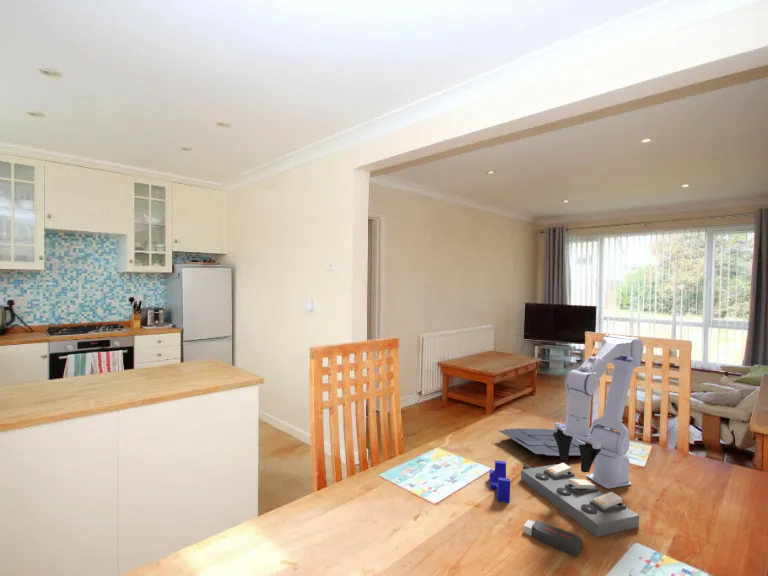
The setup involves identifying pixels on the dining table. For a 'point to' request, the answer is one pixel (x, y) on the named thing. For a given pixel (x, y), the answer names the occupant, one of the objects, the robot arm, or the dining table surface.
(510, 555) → the dining table surface
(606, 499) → the rocker
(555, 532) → the usb drive
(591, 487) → the rocker middle
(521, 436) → the grey ridged plate
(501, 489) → the blue pipe cradle
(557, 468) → the rocker
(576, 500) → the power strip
